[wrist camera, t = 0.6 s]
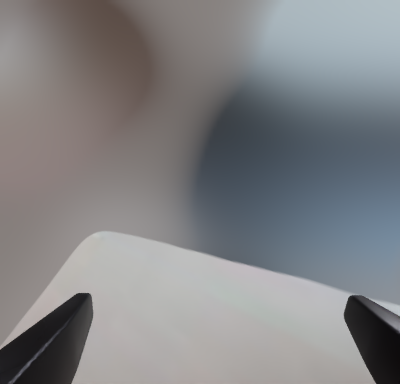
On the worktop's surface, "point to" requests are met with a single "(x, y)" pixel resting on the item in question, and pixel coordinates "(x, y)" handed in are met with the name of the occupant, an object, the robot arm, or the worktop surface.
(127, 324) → the worktop surface
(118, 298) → the worktop surface
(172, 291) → the worktop surface
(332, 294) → the worktop surface
